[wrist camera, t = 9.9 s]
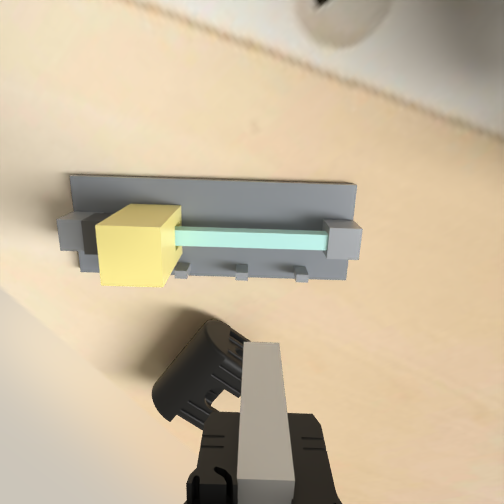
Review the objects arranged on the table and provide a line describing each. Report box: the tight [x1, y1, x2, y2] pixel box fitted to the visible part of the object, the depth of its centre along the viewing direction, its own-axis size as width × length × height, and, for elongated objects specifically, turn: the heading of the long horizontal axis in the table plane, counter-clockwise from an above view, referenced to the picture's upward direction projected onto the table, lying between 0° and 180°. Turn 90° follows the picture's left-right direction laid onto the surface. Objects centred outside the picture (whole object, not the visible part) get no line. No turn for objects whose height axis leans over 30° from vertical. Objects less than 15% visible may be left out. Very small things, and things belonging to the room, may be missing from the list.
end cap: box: [152, 320, 251, 430], centre depth 41 cm, size 10×7×7 cm
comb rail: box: [56, 175, 362, 282], centre depth 37 cm, size 10×28×5 cm, turn 88°
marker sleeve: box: [95, 204, 182, 287], centre depth 34 cm, size 5×5×9 cm
